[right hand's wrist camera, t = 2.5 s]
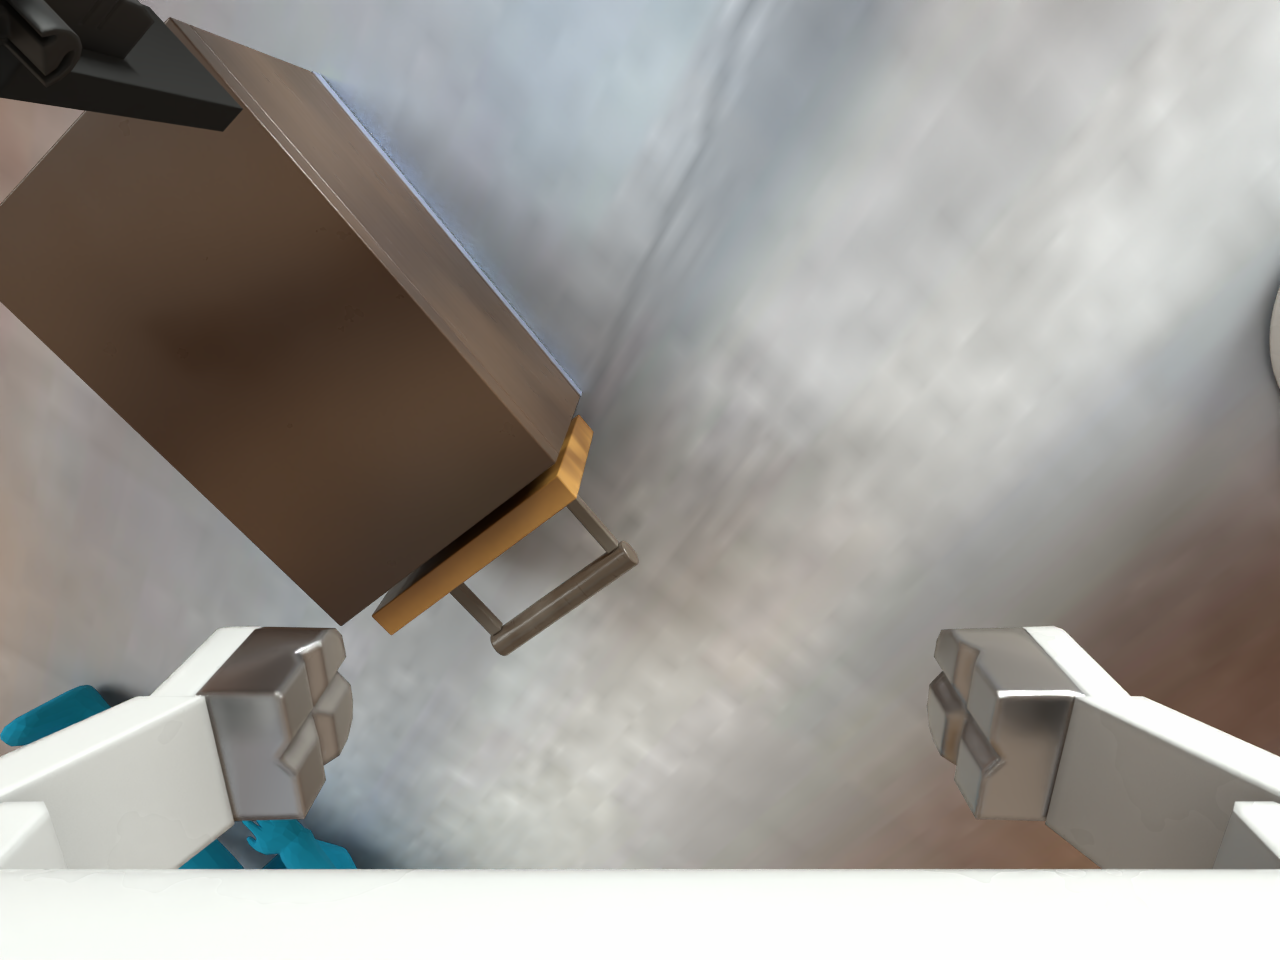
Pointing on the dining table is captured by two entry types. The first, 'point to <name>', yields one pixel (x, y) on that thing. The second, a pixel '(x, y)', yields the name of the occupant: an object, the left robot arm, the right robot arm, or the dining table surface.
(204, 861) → the toy
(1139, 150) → the dining table surface
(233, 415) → the cabinet
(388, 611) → the drawer
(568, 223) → the dining table surface
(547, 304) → the dining table surface
